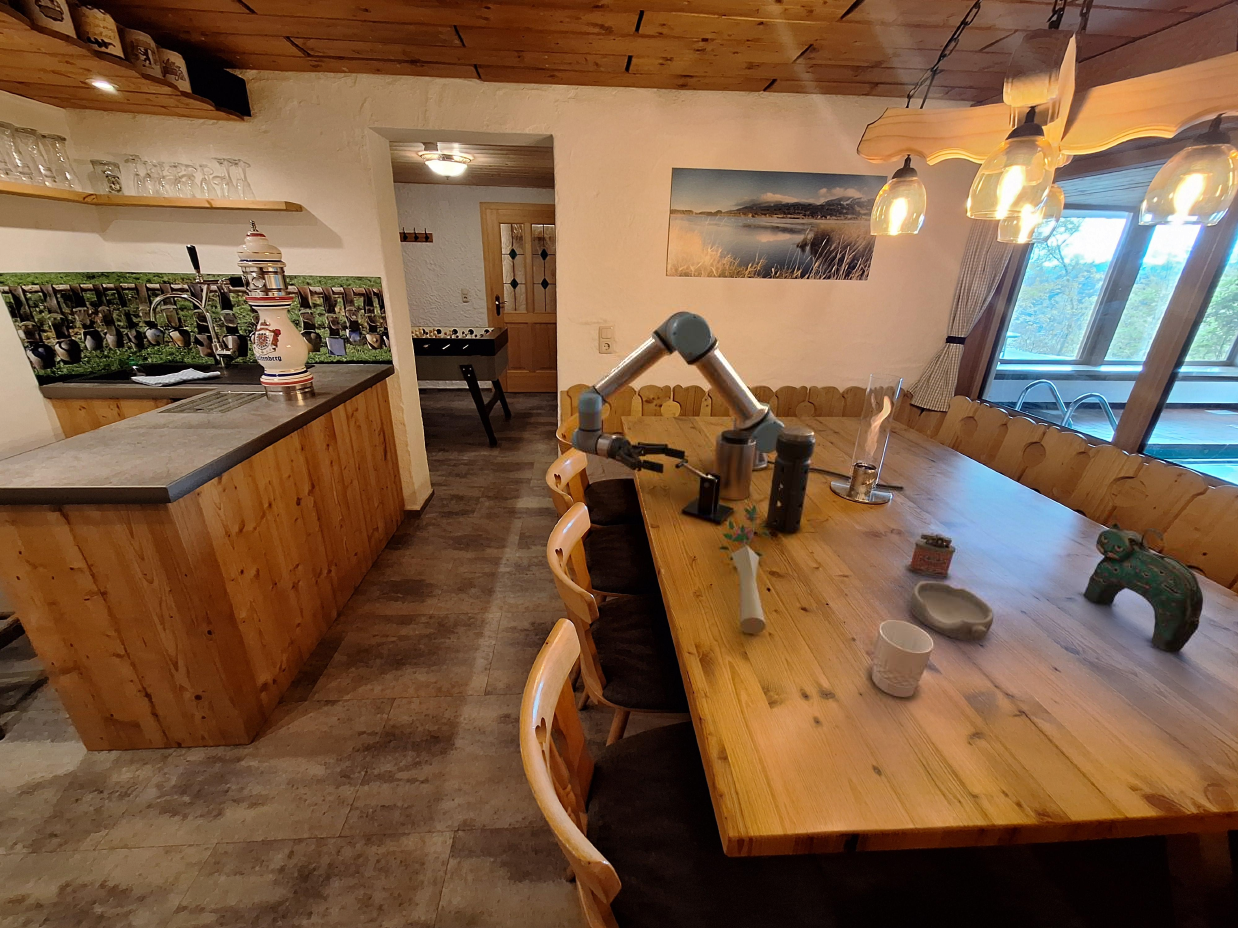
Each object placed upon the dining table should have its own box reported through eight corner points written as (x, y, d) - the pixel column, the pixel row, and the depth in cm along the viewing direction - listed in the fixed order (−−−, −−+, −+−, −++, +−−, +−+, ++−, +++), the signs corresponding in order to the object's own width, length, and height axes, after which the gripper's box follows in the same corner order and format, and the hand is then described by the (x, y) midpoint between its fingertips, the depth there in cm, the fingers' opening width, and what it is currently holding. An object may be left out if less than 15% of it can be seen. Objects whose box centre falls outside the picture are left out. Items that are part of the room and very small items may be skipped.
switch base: (681, 513, 143) (684, 476, 138) (696, 501, 150) (699, 466, 146) (720, 525, 137) (724, 486, 132) (733, 511, 144) (737, 475, 140)
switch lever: (673, 468, 142) (676, 461, 141) (682, 462, 147) (685, 456, 145) (708, 490, 138) (712, 484, 136) (717, 484, 142) (720, 477, 141)
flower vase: (730, 655, 100) (722, 539, 129) (792, 650, 96) (770, 531, 125) (717, 617, 94) (712, 504, 123) (783, 611, 91) (762, 496, 119)
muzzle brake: (805, 536, 131) (796, 518, 141) (822, 437, 121) (811, 425, 131) (769, 534, 132) (762, 516, 142) (783, 435, 122) (774, 424, 131)
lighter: (945, 571, 116) (956, 535, 113) (949, 579, 113) (960, 542, 110) (907, 565, 119) (917, 529, 115) (910, 572, 116) (920, 535, 112)
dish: (990, 653, 91) (998, 631, 89) (905, 626, 98) (911, 605, 96) (985, 611, 103) (992, 591, 101) (910, 589, 109) (915, 570, 108)
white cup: (858, 666, 88) (869, 620, 84) (900, 664, 88) (913, 618, 85) (884, 701, 80) (898, 653, 77) (929, 699, 81) (945, 651, 77)
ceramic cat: (1071, 590, 110) (1105, 510, 103) (1100, 591, 110) (1136, 511, 103) (1159, 654, 92) (1207, 562, 85) (1194, 655, 92) (1246, 564, 84)
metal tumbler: (705, 493, 156) (710, 435, 149) (719, 481, 165) (725, 426, 158) (741, 503, 150) (748, 442, 143) (754, 490, 159) (761, 432, 152)
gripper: (635, 448, 167) (691, 461, 156) (591, 470, 147) (652, 487, 136) (635, 427, 164) (693, 439, 153) (591, 447, 145) (653, 462, 134)
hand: (674, 462), depth 145 cm, fingers open, 13 cm apart
